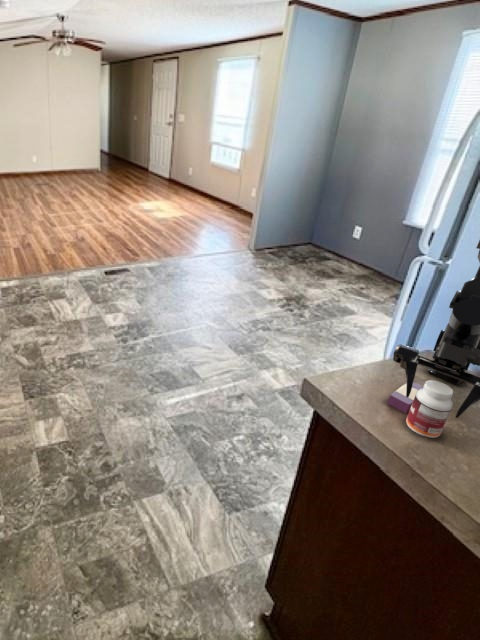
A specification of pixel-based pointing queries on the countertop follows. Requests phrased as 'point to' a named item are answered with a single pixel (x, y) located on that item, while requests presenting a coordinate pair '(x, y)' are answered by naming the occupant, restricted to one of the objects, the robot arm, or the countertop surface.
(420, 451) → the countertop surface
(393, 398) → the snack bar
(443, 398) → the pill bottle
